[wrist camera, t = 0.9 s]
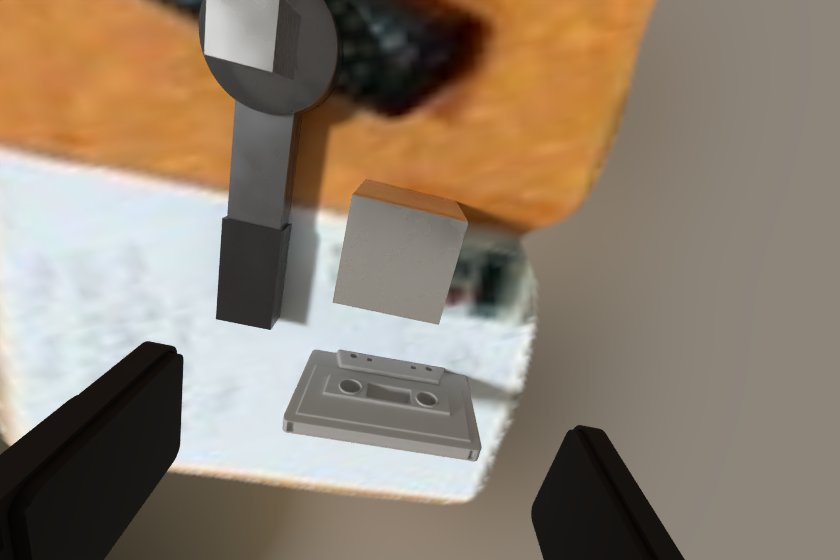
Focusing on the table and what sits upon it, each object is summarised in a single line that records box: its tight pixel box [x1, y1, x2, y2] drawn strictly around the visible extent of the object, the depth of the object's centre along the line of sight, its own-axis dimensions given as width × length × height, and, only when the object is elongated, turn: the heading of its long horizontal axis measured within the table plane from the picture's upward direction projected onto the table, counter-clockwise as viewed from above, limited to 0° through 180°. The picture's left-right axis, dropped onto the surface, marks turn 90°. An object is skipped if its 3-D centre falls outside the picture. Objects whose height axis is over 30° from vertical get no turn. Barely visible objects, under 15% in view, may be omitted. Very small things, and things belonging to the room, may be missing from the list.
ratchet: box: [199, 0, 343, 330], centre depth 22 cm, size 20×7×6 cm, turn 166°
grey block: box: [333, 179, 468, 325], centre depth 24 cm, size 6×6×6 cm
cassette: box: [282, 350, 481, 461], centre depth 27 cm, size 12×2×8 cm, turn 78°
